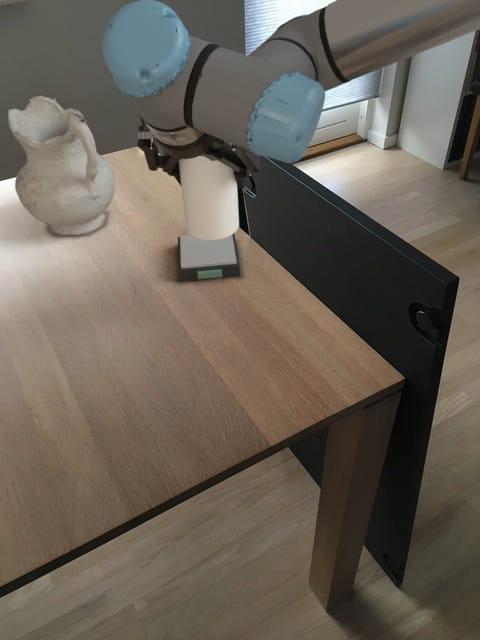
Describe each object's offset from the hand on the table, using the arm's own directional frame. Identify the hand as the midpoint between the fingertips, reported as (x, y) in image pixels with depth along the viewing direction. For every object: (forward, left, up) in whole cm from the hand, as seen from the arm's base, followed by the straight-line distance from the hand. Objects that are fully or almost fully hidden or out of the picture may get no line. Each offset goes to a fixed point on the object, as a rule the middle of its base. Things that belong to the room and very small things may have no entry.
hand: (213, 179), depth 82 cm
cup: (+1, +3, -6) cm, 7 cm away
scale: (+2, -8, -21) cm, 22 cm away
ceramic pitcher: (+28, -26, -21) cm, 43 cm away
